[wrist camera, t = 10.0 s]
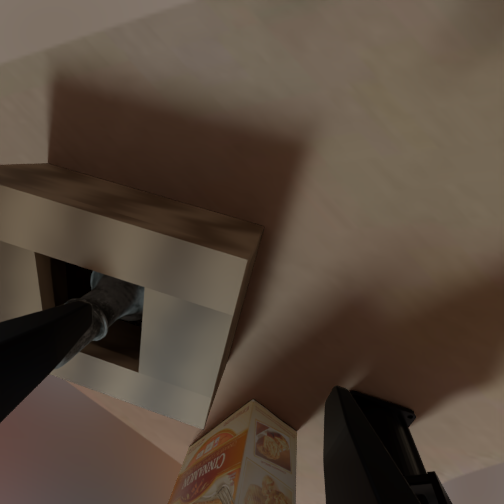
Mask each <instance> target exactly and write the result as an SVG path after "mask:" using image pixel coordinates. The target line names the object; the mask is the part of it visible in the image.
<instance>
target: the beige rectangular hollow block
mask: <svg viewBox="0 0 504 504" xmlns="http://www.w3.org/2000/svg"><path fill="white" fill-rule="evenodd" d="M263 230H264V226H261V225H258V224H254V223H251V222H247V221H244V220H240V219H237V218H234V217H230V216H227V215H223V214H220V213H216V212H213V211H209V210H206V209H203V208H199V207H196V206H192V205H189V204H185V203H182V202H179V201H175V200H172V199H168V198H165V197H161V196H158V195H154V194H151V193H148V192H144V191H141V190H137V189H134V188H130V187H127V186H124V185H120V184H117V183H113V182H110V181H106V180H103V179H99V178H96V177H93V176H89V175H86V174H82V173H79V172H75V171H72V170H69V169H65V168H62V167H58V166H55V165H51V164H48V163H43V164H12V165H0V322H2V321H6V320H10V319H13V318H17V317H20V316H24V315H28V314H31V313H35V312H38V311H42V310H46V309H49V308H53V307H56V306H60V305H64V304H65V303H66V302H67V301H68V289H67V277H66V264H65V262H68V263H71V264H74V265H77V266H80V267H84V268H87V269H90V270H93V271H96V272H99V273H102V274H105V275H108V276H112V277H115V278H118V279H121V280H124V281H127V282H130V283H133V284H136V285H139V286H143V287H145V290H144V304H143V318H142V327H139V326H136V325H133V324H130V323H127V322H124V321H121V320H118V319H117V320H116V321H115V322H114V323H113V324H112V325H111V326H109V327H108V332H107V334H106V336H105V337H103V338H102V339H100V340H97V341H91V342H90V343H89V344H88V345H86V346H85V347H84V348H83V349H82V350H81V351H80V352H79V353H77V354H76V355H75V356H74V357H73V358H72V359H71V360H70V361H68V362H67V363H66V364H65V365H63V366H62V367H60V368H58V369H54V370H53V371H52V372H51V373H50V374H51V375H53V376H56V377H59V378H62V379H65V380H67V381H70V382H73V383H76V384H78V385H81V386H84V387H87V388H89V389H92V390H95V391H98V392H100V393H103V394H106V395H109V396H111V397H114V398H117V399H120V400H123V401H125V402H128V403H131V404H134V405H136V406H139V407H142V408H145V409H147V410H150V411H153V412H156V413H158V414H161V415H164V416H167V417H169V418H172V419H175V420H178V421H180V422H183V423H186V424H189V425H192V426H194V427H197V428H200V429H204V426H205V424H206V421H207V418H208V415H209V412H210V409H211V407H212V404H213V401H214V398H215V395H216V392H217V389H218V387H219V384H220V381H221V378H222V375H223V372H224V370H225V367H226V364H227V360H228V357H229V353H230V349H231V346H232V342H233V339H234V335H235V331H236V328H237V324H238V320H239V317H240V313H241V309H242V306H243V302H244V299H245V295H246V291H247V288H248V284H249V280H250V277H251V273H252V270H253V266H254V262H255V259H256V255H257V251H258V248H259V244H260V240H261V237H262V233H263Z"/></svg>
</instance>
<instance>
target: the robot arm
mask: <svg viewBox="0 0 504 504" xmlns="http://www.w3.org/2000/svg"><path fill="white" fill-rule="evenodd" d="M92 322H93V313H92V305H91V304H90V303H88V302H85V301H82V300H78V301H74V302H71V303H67V304H64V305H60V306H56V307H53V308H49V309H46V310H42V311H38V312H35V313H31V314H28V315H24V316H20V317H17V318H13V319H10V320H6V321H2V322H0V423H1V422H2V421H3V420H4V419H5V418H6V417H7V415H9V414H10V412H12V411H13V410H14V409H15V407H17V405H19V403H20V402H22V401H23V400H24V398H26V397H27V396H28V395H29V394H30V393H31V392H32V391H33V390H34V388H36V387H37V386H38V384H40V383H41V382H42V381H43V380H44V379H45V378H46V377H47V376H48V375H49V374H50V373H51V372H52V371H53V370H54V369H55V368H56V366H57V365H58V364H59V363H60V362H61V361H62V360H63V359H64V358H65V356H66V355H67V354H68V353H69V352H70V350H71V349H72V348H73V347H74V346H75V345H76V343H77V342H78V341H79V340H80V339H81V337H82V336H83V335H84V334H85V333H86V331H87V330H88V329H89V328H90V326H91V325H92ZM354 396H355V397H354ZM415 418H416V415H415V413H414V411H412V410H410V409H407V408H404V407H401V406H398V405H395V404H392V403H389V402H386V401H383V400H380V399H377V398H374V397H371V396H368V395H365V394H362V393H359V392H356V391H351V392H349V391H348V389H346V388H343V387H340V386H334V388H333V389H332V391H331V393H330V395H329V396H328V398H327V400H326V403H325V415H324V449H323V462H324V479H325V494H326V504H452V502H451V501H450V499H449V497H448V495H447V493H446V491H445V489H444V487H443V486H442V484H441V482H440V480H439V478H438V476H437V475H436V473H435V471H433V472H427V473H428V474H427V473H426V470H425V468H424V465H423V463H422V460H421V458H420V455H419V453H418V450H417V448H416V445H415V443H414V440H413V438H412V435H411V433H410V430H409V428H408V427H409V426H410V425H411V423H412V422H413V421H414V420H415Z"/></svg>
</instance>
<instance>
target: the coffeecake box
mask: <svg viewBox="0 0 504 504" xmlns="http://www.w3.org/2000/svg"><path fill="white" fill-rule="evenodd" d="M296 453H297V432H296V431H295V430H294V429H292V428H291V427H290V426H288V425H287V424H285V423H284V422H282V421H281V420H280V419H278V418H277V417H276V416H275V415H273V414H272V413H271V412H270V411H269V410H267V409H266V408H265V407H263V406H262V405H261V404H259V403H258V402H256V401H255V400H254V399H252V400H251V401H250V402H248V403H247V404H246V405H244V406H243V407H242V408H240V409H239V410H238V411H236V412H235V413H234V414H232V415H231V416H230V417H228V418H227V419H226V420H224V421H223V422H222V423H221V424H219V425H218V426H217V427H215V428H214V429H213V430H211V431H210V432H209V433H207V434H206V435H205V436H203V437H202V438H201V439H200V440H198V441H197V442H196V443H194V444H193V445H192V446H190V447H189V449H188V452H187V454H186V457H185V460H184V462H183V465H182V467H181V470H180V473H179V475H178V478H177V481H176V484H175V486H174V489H173V492H172V494H171V497H170V499H169V502H168V504H296Z"/></svg>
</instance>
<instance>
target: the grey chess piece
mask: <svg viewBox="0 0 504 504" xmlns="http://www.w3.org/2000/svg"><path fill="white" fill-rule="evenodd" d="M90 284H91V289H92V291H90V292H89V293H87V294H86V295H84V296H83V297H81V298H73V299H70V300H68V301H67V302H66V303H65V304H67V303H71V302H74V301H78V300H82V301H85V302H88V303H90V304H91V305H92V313H93V322H92V325H91V326H90V328H89V329H88V330H87V331H86V333H85V334H84V335H83V336H82V337H81V339H80V340H79V341H78V342H77V343H76V345H75V346H74V347H73V348H72V349H71V350H70V352H69V353H68V354H67V355H66V356H65V358H64V359H63V360H62V361H61V362H60V363H59V364H58V365H57V366H56V368H55V369H58V368H60V367H62V366H63V365H65V364H66V363H67V362H68V361H70V360H71V359H72V358H73V357H74V356H75V355H76V354H77V353H79V352H80V351H81V350H82V349H83V348H84V347H85V346H86V345H88V344H89V343H90V342H91V341H97V340H100V339H102V338H103V337H105V336H106V334H107V332H108V327H109V326H111V325H112V324H113V323H114V322H115V321H116V320H117V319H122V320H127V321H137V320H140V319H142V318H143V304H144V290H145V287H143V286H139V285H136V284H133V283H130V282H127V281H124V280H121V279H118V278H115V277H112V276H108V275H105V274H102V273H99V272H96V271H93V272H92V274H91V282H90Z"/></svg>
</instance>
